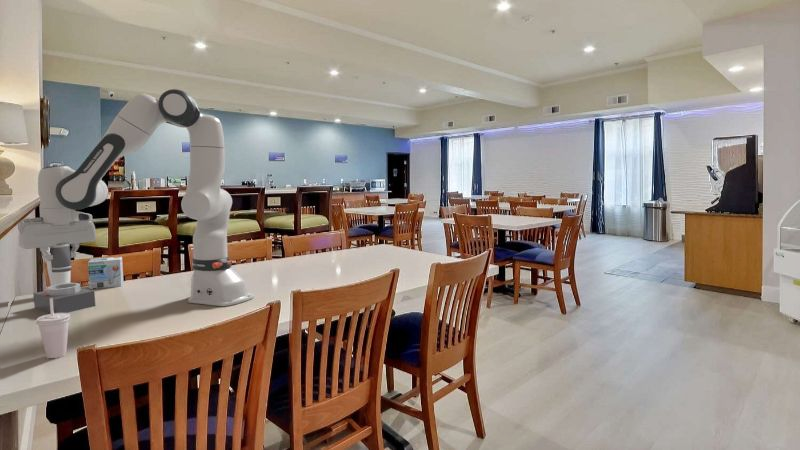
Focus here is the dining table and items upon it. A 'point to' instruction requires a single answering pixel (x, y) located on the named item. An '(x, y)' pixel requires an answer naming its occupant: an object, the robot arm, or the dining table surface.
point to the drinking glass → (58, 276)
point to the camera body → (64, 298)
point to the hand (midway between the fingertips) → (60, 258)
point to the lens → (61, 258)
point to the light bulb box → (105, 272)
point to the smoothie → (54, 332)
